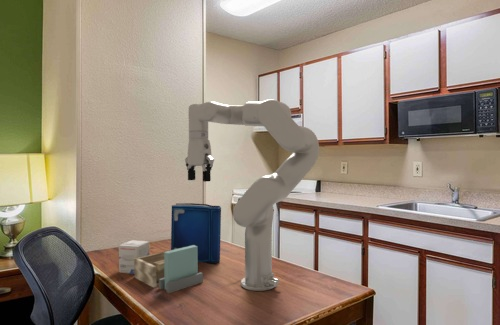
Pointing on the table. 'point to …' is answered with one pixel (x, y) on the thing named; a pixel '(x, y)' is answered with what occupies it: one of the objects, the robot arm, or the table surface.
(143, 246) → the ink box
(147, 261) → the bin
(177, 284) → the stand
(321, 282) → the table surface
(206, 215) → the book
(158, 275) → the offcut low
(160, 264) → the offcut top
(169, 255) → the sheet
